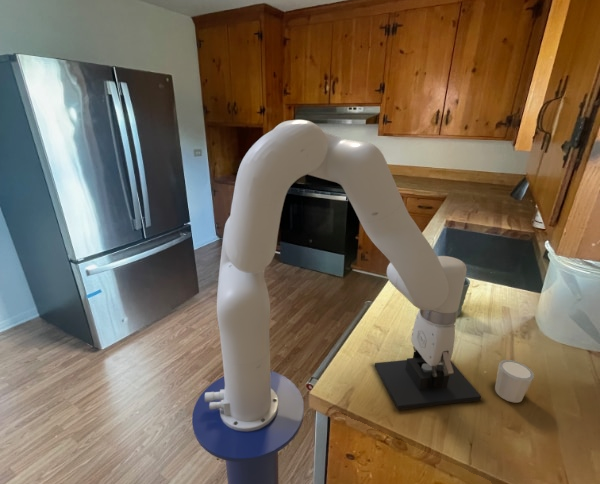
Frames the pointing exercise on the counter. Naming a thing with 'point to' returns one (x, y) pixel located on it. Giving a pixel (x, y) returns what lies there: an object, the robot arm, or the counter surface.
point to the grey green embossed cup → (463, 295)
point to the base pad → (411, 397)
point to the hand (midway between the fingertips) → (426, 375)
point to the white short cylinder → (513, 380)
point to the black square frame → (421, 373)
